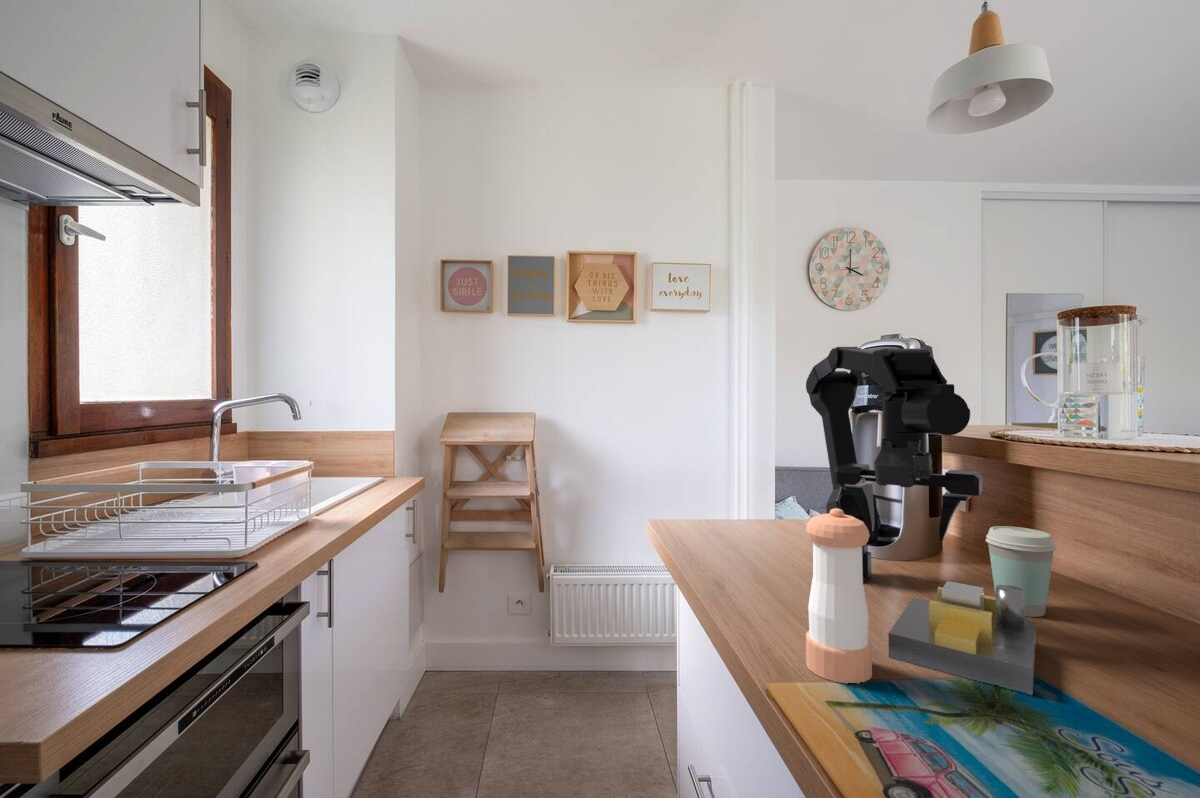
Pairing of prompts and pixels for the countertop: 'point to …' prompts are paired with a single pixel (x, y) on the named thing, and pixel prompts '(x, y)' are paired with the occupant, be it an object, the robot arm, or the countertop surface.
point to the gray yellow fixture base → (970, 639)
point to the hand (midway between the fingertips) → (905, 535)
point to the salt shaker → (838, 600)
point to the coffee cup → (1022, 563)
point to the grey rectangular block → (963, 595)
